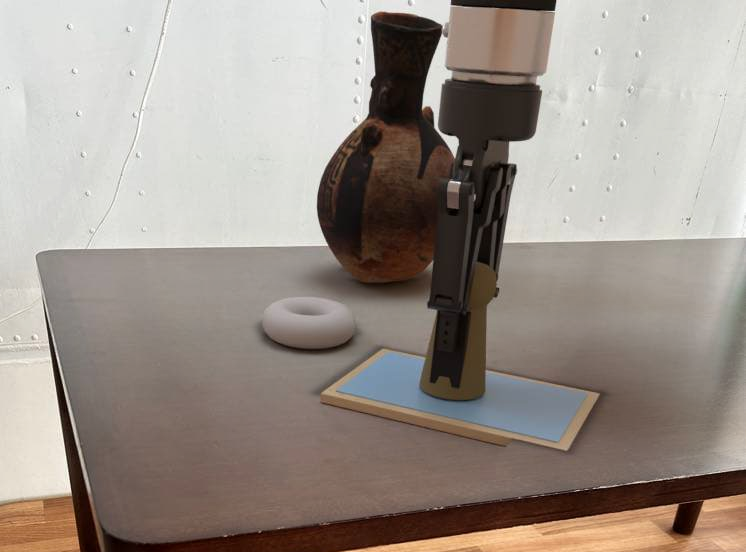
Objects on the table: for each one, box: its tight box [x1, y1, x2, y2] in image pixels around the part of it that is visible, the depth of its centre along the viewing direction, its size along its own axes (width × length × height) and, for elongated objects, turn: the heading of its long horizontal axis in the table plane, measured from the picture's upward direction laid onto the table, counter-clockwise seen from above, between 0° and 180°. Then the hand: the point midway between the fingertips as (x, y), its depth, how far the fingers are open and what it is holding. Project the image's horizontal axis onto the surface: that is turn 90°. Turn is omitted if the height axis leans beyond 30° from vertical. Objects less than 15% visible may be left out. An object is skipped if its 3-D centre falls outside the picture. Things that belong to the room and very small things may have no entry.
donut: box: [261, 296, 357, 350], centre depth 86 cm, size 10×4×10 cm
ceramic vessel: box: [316, 10, 455, 284], centre depth 101 cm, size 21×18×30 cm
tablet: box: [320, 348, 601, 452], centre depth 74 cm, size 22×14×1 cm, turn 64°
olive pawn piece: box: [419, 262, 498, 400], centre depth 71 cm, size 6×6×11 cm
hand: (454, 375), depth 73 cm, fingers closed on olive pawn piece, 4 cm apart
